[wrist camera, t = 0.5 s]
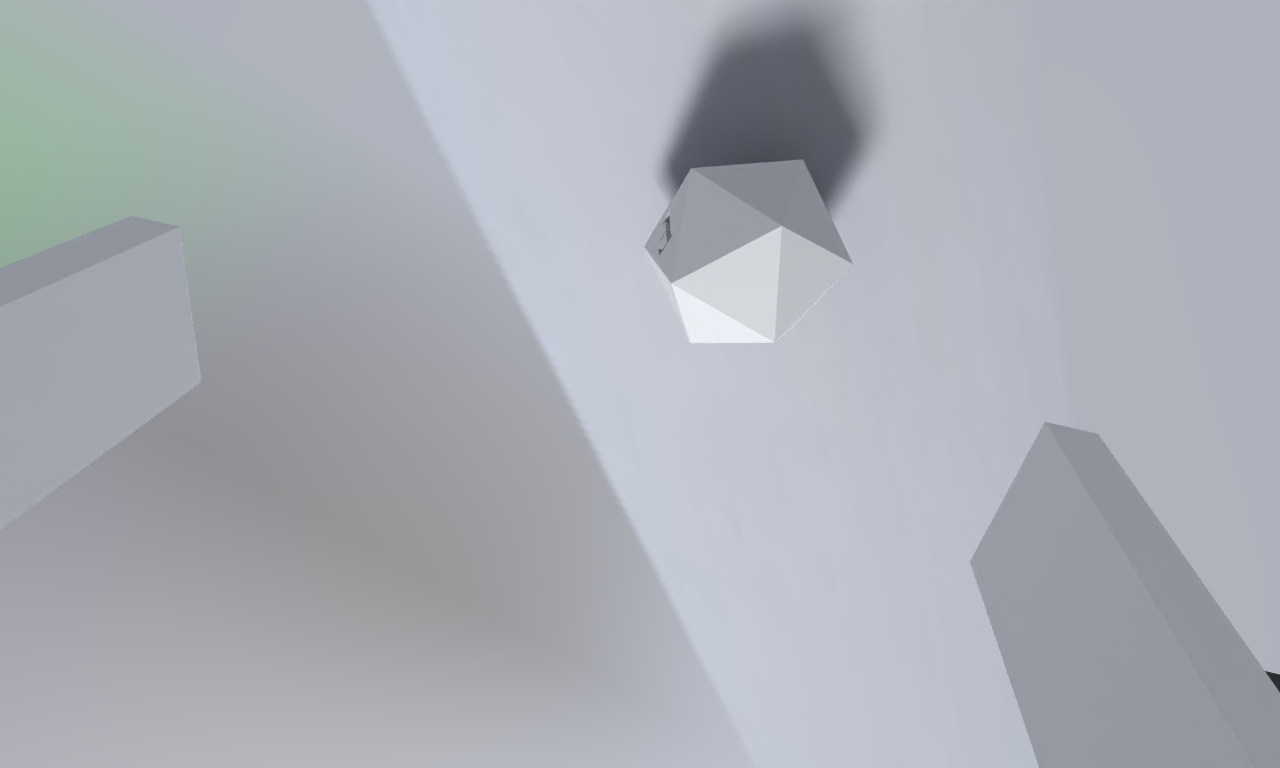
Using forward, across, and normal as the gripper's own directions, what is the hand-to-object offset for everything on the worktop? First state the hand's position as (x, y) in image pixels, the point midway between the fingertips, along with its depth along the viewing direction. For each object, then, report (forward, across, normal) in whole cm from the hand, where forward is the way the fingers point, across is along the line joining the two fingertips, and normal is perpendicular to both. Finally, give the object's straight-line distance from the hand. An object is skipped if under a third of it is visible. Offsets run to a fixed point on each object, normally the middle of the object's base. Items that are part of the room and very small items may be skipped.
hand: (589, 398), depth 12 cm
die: (+28, +3, -5) cm, 28 cm away
